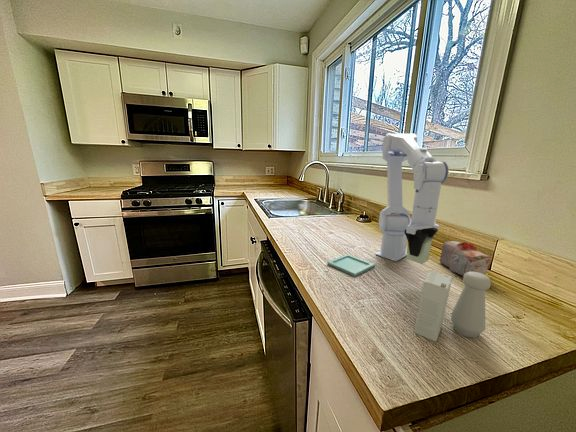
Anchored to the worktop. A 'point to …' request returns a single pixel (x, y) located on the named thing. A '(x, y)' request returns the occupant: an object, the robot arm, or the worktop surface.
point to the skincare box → (432, 305)
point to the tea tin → (421, 252)
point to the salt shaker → (471, 305)
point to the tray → (351, 265)
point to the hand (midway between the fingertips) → (417, 253)
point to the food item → (464, 258)
